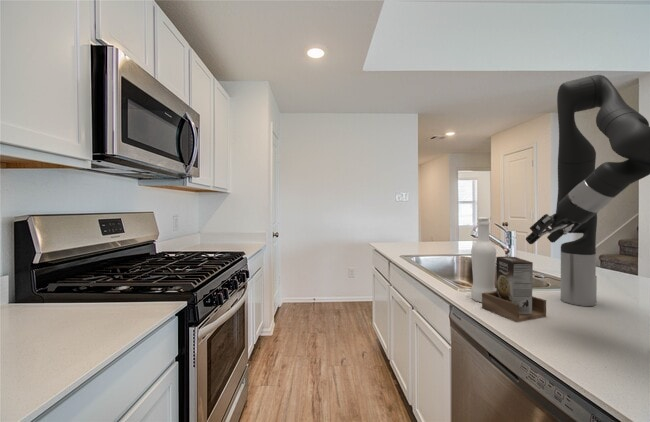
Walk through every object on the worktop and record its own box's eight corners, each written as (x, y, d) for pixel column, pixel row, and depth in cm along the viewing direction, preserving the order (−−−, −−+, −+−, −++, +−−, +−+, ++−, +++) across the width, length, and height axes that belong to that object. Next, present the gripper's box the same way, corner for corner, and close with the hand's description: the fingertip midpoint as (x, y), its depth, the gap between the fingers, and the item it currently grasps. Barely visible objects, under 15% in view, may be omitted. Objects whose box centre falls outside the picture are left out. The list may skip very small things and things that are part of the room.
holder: (509, 303, 102) (509, 289, 102) (546, 316, 90) (546, 300, 90) (481, 307, 98) (481, 293, 98) (516, 322, 86) (516, 305, 86)
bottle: (500, 304, 101) (500, 217, 100) (474, 303, 103) (474, 217, 102) (491, 297, 109) (491, 216, 108) (468, 296, 111) (468, 216, 110)
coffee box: (495, 304, 99) (495, 256, 98) (514, 304, 98) (514, 256, 98) (511, 314, 89) (511, 261, 89) (533, 314, 89) (533, 261, 89)
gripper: (591, 190, 79) (547, 230, 90) (553, 191, 74) (512, 232, 86) (616, 211, 74) (566, 249, 85) (576, 212, 69) (529, 253, 81)
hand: (539, 241), depth 85 cm, fingers open, 8 cm apart
